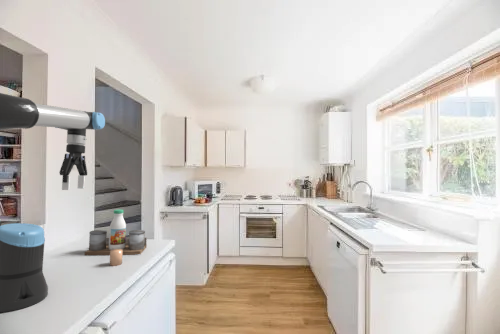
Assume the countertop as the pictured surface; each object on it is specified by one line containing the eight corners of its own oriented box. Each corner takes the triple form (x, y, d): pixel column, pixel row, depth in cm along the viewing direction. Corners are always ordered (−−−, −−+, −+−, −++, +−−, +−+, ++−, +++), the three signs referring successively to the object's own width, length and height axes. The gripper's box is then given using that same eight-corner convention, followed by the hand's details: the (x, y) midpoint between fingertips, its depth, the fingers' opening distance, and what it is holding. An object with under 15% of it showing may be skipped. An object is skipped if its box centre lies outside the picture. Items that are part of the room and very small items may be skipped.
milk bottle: (105, 249, 134) (106, 210, 134) (116, 245, 141) (118, 208, 141) (117, 251, 131) (118, 211, 132) (128, 247, 139) (130, 209, 139)
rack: (141, 254, 132) (141, 234, 133) (83, 255, 128) (84, 234, 129) (147, 247, 145) (148, 228, 145) (95, 247, 141) (96, 228, 141)
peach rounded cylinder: (119, 265, 116) (120, 252, 116) (107, 266, 115) (108, 252, 115) (123, 262, 121) (124, 248, 121) (111, 262, 120) (112, 249, 120)
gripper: (70, 141, 113) (67, 190, 113) (96, 147, 138) (93, 188, 137) (51, 140, 112) (48, 190, 112) (80, 147, 137) (78, 187, 136)
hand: (73, 189), depth 124 cm, fingers open, 13 cm apart
